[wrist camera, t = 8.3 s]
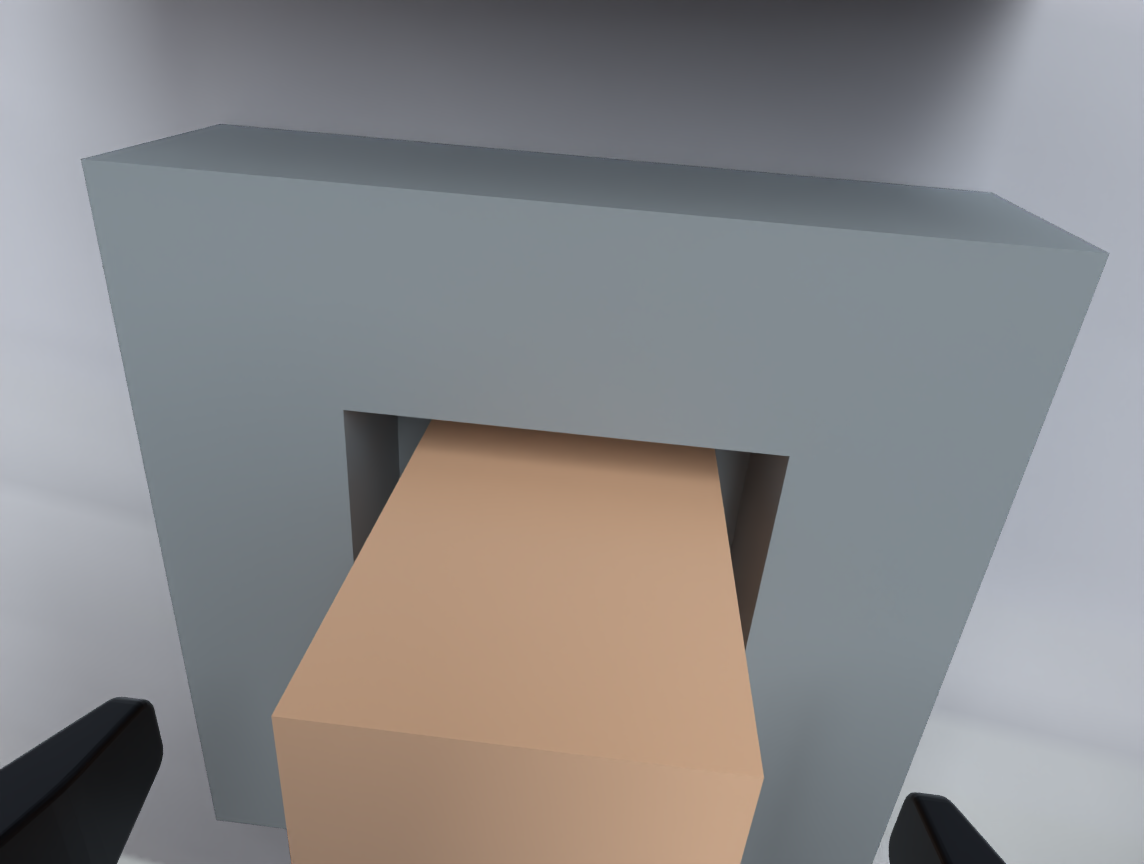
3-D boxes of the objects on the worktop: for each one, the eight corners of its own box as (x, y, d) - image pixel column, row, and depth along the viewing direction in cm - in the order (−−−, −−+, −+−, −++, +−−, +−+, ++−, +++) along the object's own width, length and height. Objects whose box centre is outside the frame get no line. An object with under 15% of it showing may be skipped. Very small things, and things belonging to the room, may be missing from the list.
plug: (710, 420, 13) (763, 777, 7) (674, 625, 15) (690, 1043, 9) (446, 391, 13) (270, 715, 7) (445, 598, 15) (308, 989, 9)
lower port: (992, 193, 12) (1108, 253, 9) (821, 747, 18) (857, 901, 15) (219, 124, 13) (80, 159, 10) (290, 683, 18) (216, 820, 15)
